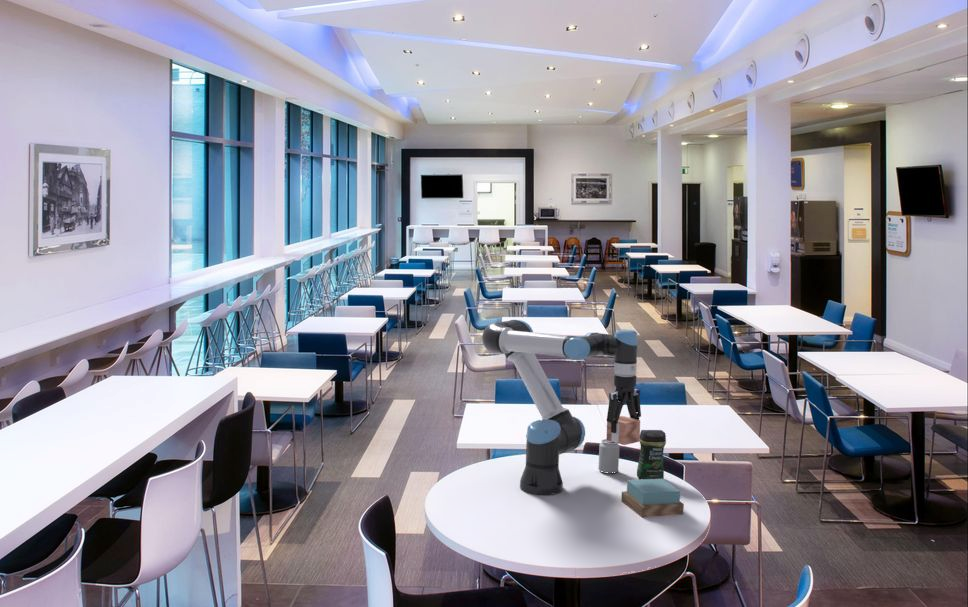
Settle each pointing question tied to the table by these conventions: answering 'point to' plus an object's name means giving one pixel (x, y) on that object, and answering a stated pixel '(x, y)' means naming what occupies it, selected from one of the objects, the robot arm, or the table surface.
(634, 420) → the block
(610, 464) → the can
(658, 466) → the coffee jar
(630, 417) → the robot arm
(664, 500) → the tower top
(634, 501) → the tower base
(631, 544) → the table surface
